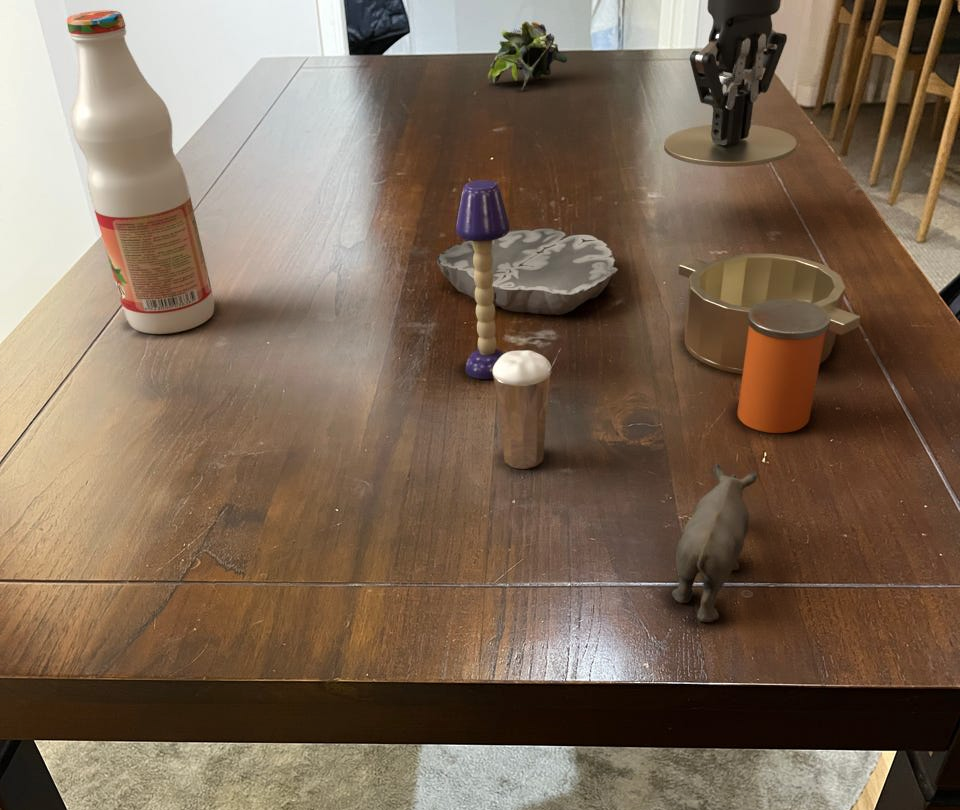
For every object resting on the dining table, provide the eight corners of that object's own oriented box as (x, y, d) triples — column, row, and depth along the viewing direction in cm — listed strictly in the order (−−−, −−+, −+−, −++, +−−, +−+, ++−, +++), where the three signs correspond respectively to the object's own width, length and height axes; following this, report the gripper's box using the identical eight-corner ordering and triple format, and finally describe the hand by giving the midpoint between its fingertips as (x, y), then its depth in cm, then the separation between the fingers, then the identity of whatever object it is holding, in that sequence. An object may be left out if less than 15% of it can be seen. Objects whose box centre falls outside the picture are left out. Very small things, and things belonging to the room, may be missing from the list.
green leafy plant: (536, 113, 181) (576, 49, 174) (525, 117, 172) (567, 50, 165) (485, 72, 179) (524, 6, 173) (472, 74, 170) (512, 4, 164)
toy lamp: (458, 361, 97) (446, 180, 86) (504, 353, 98) (498, 172, 87) (473, 383, 94) (462, 197, 82) (520, 374, 94) (516, 188, 83)
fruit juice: (181, 341, 103) (100, 28, 85) (109, 329, 106) (15, 24, 88) (233, 305, 110) (169, 6, 91) (163, 294, 113) (87, 3, 94)
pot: (727, 293, 106) (734, 235, 102) (886, 352, 94) (901, 289, 90) (634, 333, 100) (638, 273, 96) (792, 401, 88) (803, 337, 84)
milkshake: (552, 478, 81) (552, 362, 74) (489, 469, 82) (483, 355, 76) (567, 449, 84) (568, 336, 77) (506, 441, 85) (502, 329, 79)
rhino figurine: (760, 515, 76) (771, 445, 72) (723, 628, 66) (734, 555, 62) (705, 505, 77) (714, 436, 73) (661, 616, 68) (669, 543, 64)
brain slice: (649, 273, 111) (651, 246, 109) (571, 333, 101) (571, 304, 99) (500, 243, 120) (500, 217, 118) (414, 295, 109) (412, 268, 107)
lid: (722, 126, 124) (727, 70, 120) (822, 149, 115) (831, 90, 111) (636, 154, 117) (639, 96, 113) (735, 181, 108) (742, 119, 104)
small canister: (767, 390, 90) (782, 292, 84) (827, 416, 86) (847, 315, 80) (719, 415, 87) (731, 315, 81) (778, 443, 83) (796, 340, 77)
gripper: (731, -27, 98) (714, 161, 110) (820, -48, 105) (795, 133, 116) (674, -33, 103) (663, 148, 114) (763, -53, 109) (744, 121, 120)
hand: (730, 139), depth 115 cm, fingers closed on lid, 2 cm apart
